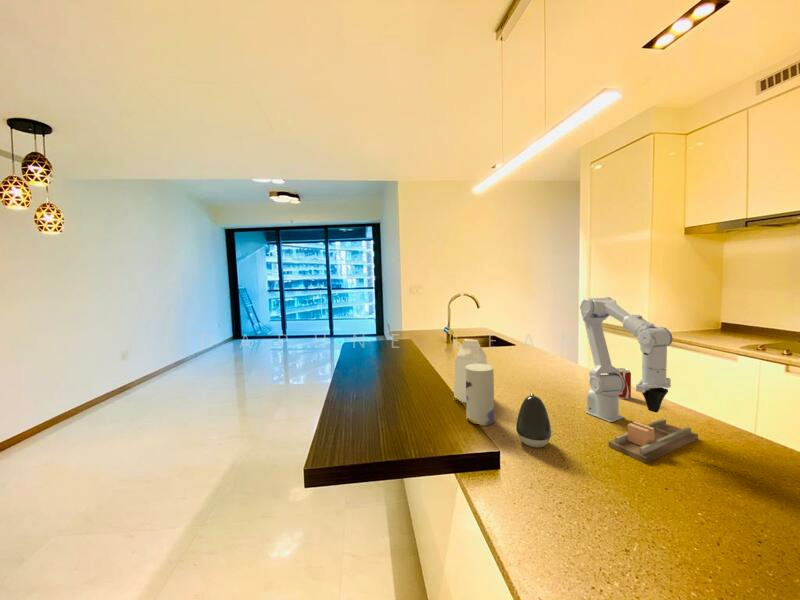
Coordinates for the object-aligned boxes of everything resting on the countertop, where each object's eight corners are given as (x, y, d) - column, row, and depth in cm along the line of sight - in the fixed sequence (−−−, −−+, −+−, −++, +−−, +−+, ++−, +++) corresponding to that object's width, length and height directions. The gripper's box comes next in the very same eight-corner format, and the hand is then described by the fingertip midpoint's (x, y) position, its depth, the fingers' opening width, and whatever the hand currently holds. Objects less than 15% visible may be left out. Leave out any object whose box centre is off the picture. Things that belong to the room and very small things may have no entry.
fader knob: (627, 440, 94) (627, 423, 94) (635, 437, 96) (635, 420, 95) (646, 448, 89) (646, 430, 89) (654, 444, 91) (654, 427, 91)
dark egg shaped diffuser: (549, 437, 101) (549, 391, 100) (553, 454, 91) (553, 403, 90) (516, 433, 104) (515, 388, 103) (516, 449, 95) (516, 400, 94)
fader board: (608, 446, 94) (608, 435, 94) (660, 425, 106) (660, 416, 106) (645, 463, 85) (646, 451, 85) (697, 438, 97) (698, 428, 97)
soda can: (633, 399, 128) (633, 371, 128) (619, 399, 130) (619, 371, 129) (626, 395, 134) (627, 367, 133) (613, 394, 135) (613, 367, 134)
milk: (489, 396, 137) (488, 338, 136) (481, 406, 128) (479, 343, 126) (463, 392, 144) (462, 336, 142) (453, 400, 134) (452, 341, 133)
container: (463, 414, 120) (462, 364, 119) (488, 413, 121) (487, 362, 119) (471, 426, 110) (470, 371, 109) (498, 424, 111) (497, 369, 109)
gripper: (655, 374, 87) (654, 421, 88) (683, 366, 93) (682, 410, 94) (628, 368, 94) (628, 412, 95) (655, 361, 100) (655, 402, 101)
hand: (653, 411), depth 95 cm, fingers closed
